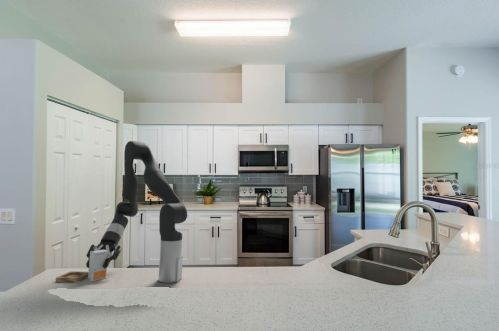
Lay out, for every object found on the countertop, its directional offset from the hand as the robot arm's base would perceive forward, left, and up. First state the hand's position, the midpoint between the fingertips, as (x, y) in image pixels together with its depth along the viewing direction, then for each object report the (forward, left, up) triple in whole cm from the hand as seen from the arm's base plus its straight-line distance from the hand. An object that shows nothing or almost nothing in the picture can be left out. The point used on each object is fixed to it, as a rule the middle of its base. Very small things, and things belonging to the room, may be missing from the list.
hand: (95, 267), depth 116 cm
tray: (+10, -1, -5) cm, 11 cm away
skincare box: (0, -2, -6) cm, 6 cm away
